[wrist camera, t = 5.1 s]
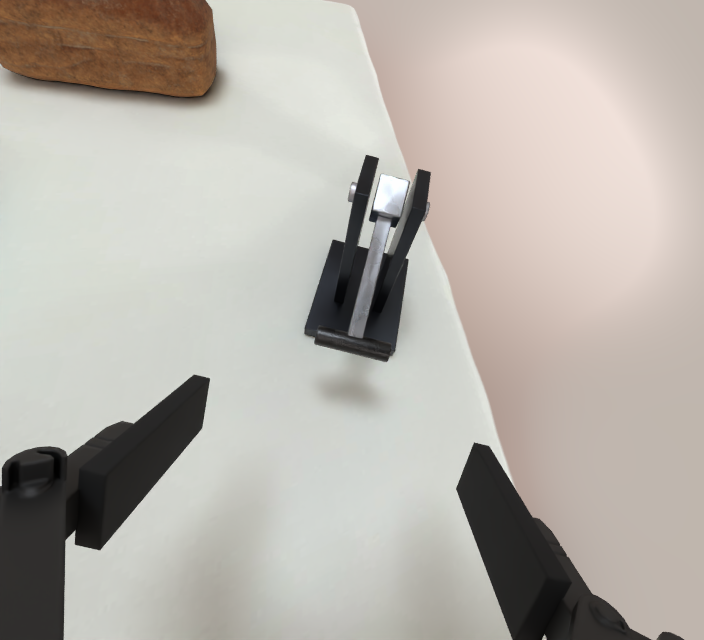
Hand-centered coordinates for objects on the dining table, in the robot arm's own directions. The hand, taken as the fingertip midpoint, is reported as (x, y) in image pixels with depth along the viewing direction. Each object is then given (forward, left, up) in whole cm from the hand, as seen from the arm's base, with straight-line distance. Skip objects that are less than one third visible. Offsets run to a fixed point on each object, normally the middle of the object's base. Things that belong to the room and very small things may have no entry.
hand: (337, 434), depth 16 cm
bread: (+60, -19, -13) cm, 64 cm away
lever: (+7, -12, -4) cm, 14 cm away
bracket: (+9, -15, -13) cm, 22 cm away
